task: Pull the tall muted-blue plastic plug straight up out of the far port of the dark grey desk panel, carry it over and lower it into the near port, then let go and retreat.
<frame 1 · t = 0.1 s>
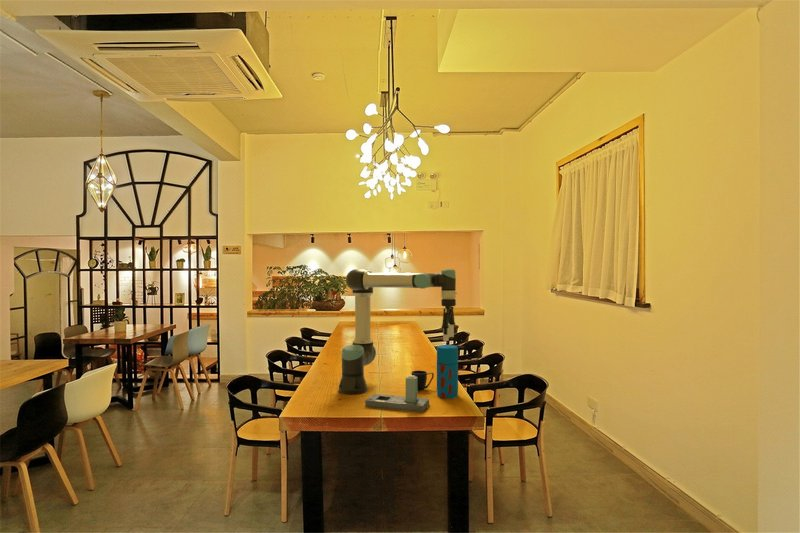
hand: (448, 338, 238), 28 cm above the table, fingers open, 13 cm apart
thermos: (447, 396, 231), on the table
panel: (397, 405, 214), on the table
mug: (422, 390, 242), on the table
plug: (411, 407, 212), resting in panel
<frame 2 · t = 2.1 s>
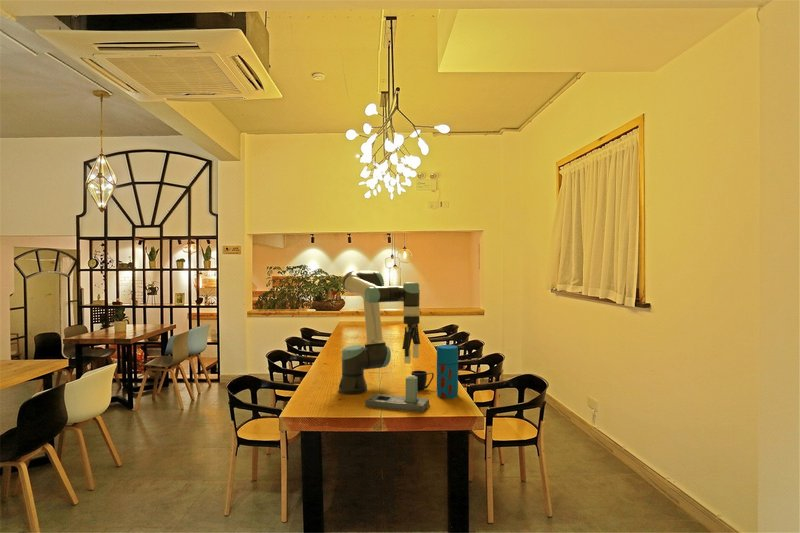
hand: (411, 360, 212), 22 cm above the table, fingers open, 13 cm apart
nothing on the table moved.
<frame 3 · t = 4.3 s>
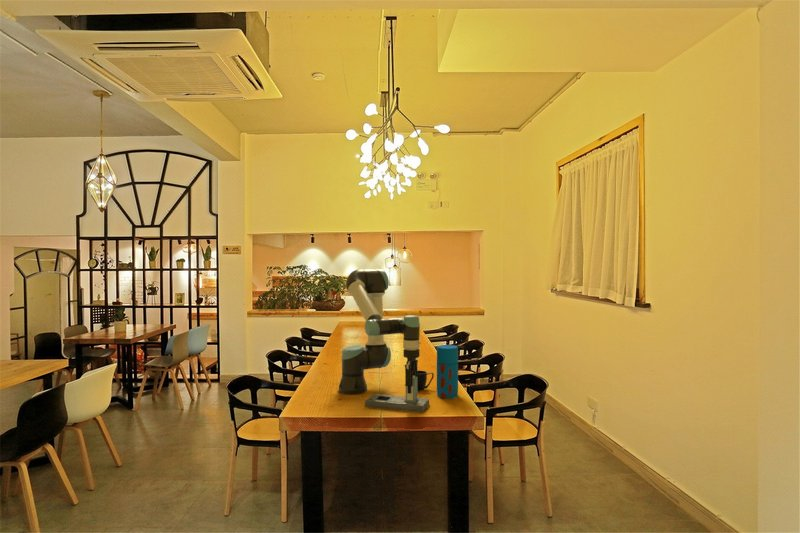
hand: (411, 398, 212), 4 cm above the table, fingers closed on plug, 4 cm apart
plug: (411, 407, 212), resting in panel, touching gripper
everything else where it was.
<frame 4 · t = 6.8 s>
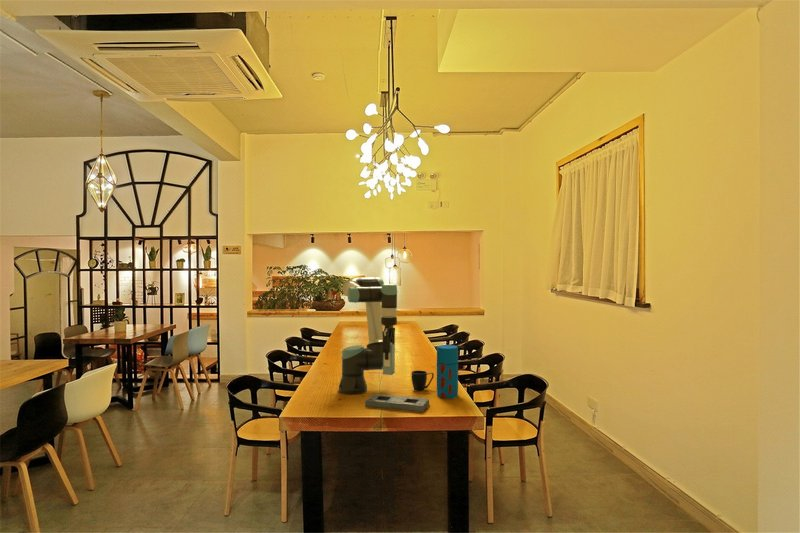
hand: (388, 364, 216), 19 cm above the table, fingers closed on plug, 4 cm apart
plug: (388, 373, 216), point 15 cm above the table, touching gripper
everything else where it was.
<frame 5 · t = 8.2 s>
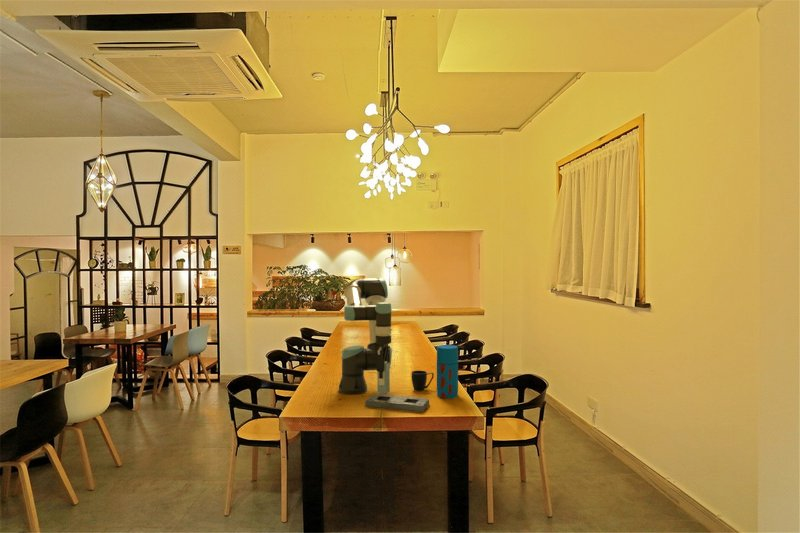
hand: (383, 383, 216), 10 cm above the table, fingers closed on plug, 4 cm apart
plug: (383, 392, 216), point 6 cm above the table, touching gripper
everything else where it was.
when the fingers open (5 cm above the table, at t = 9.5 s): plug stays where it is, resting in panel.
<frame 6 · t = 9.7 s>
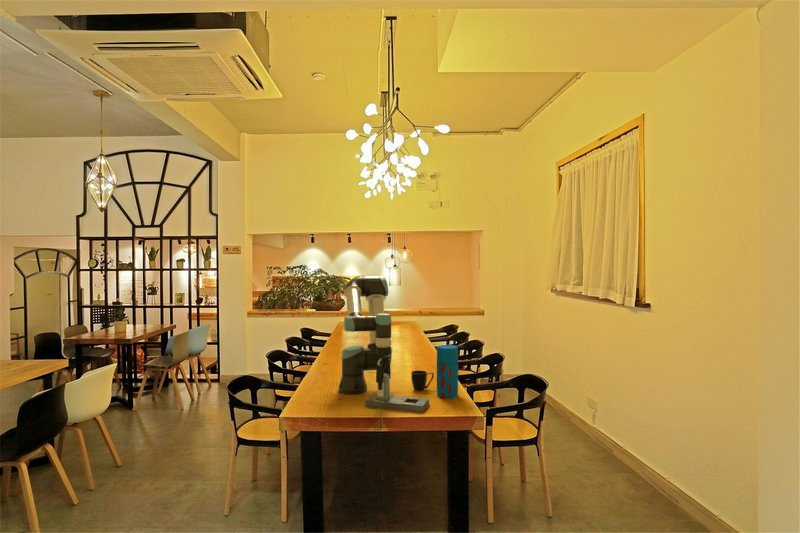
hand: (383, 394, 216), 5 cm above the table, fingers open, 7 cm apart
plug: (383, 404, 216), resting in panel
everything else where it was.
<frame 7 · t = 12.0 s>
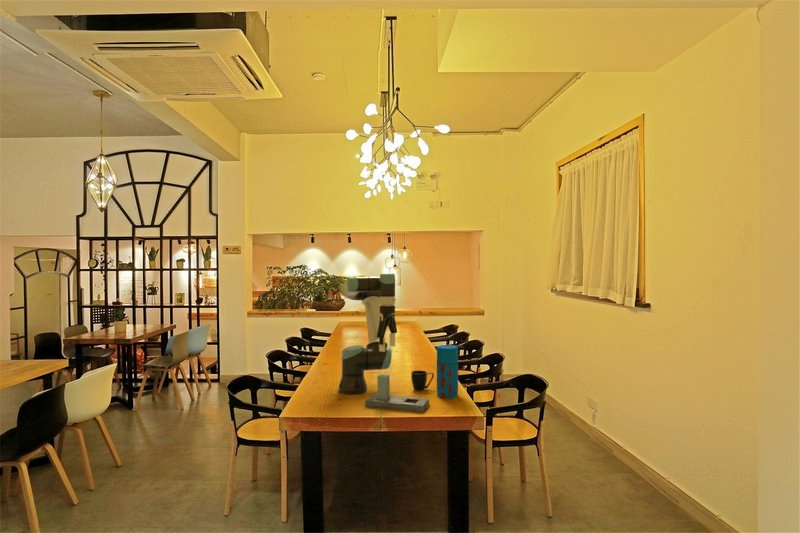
hand: (387, 348, 219), 26 cm above the table, fingers open, 13 cm apart
nothing on the table moved.
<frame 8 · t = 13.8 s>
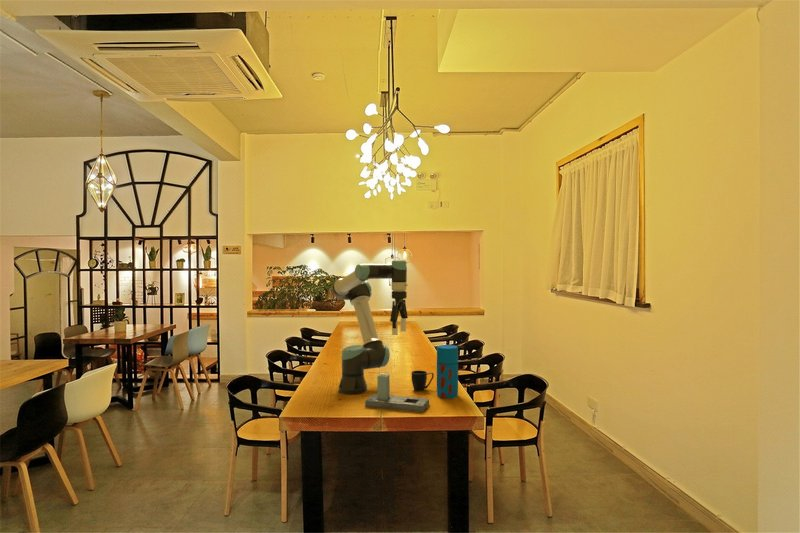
hand: (399, 333, 226), 33 cm above the table, fingers open, 13 cm apart
nothing on the table moved.
at the end: plug 0.0 cm from the target spot on the panel, point 0.0 cm above the panel's base; plug tilted 0°; the gripper is holding nothing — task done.
